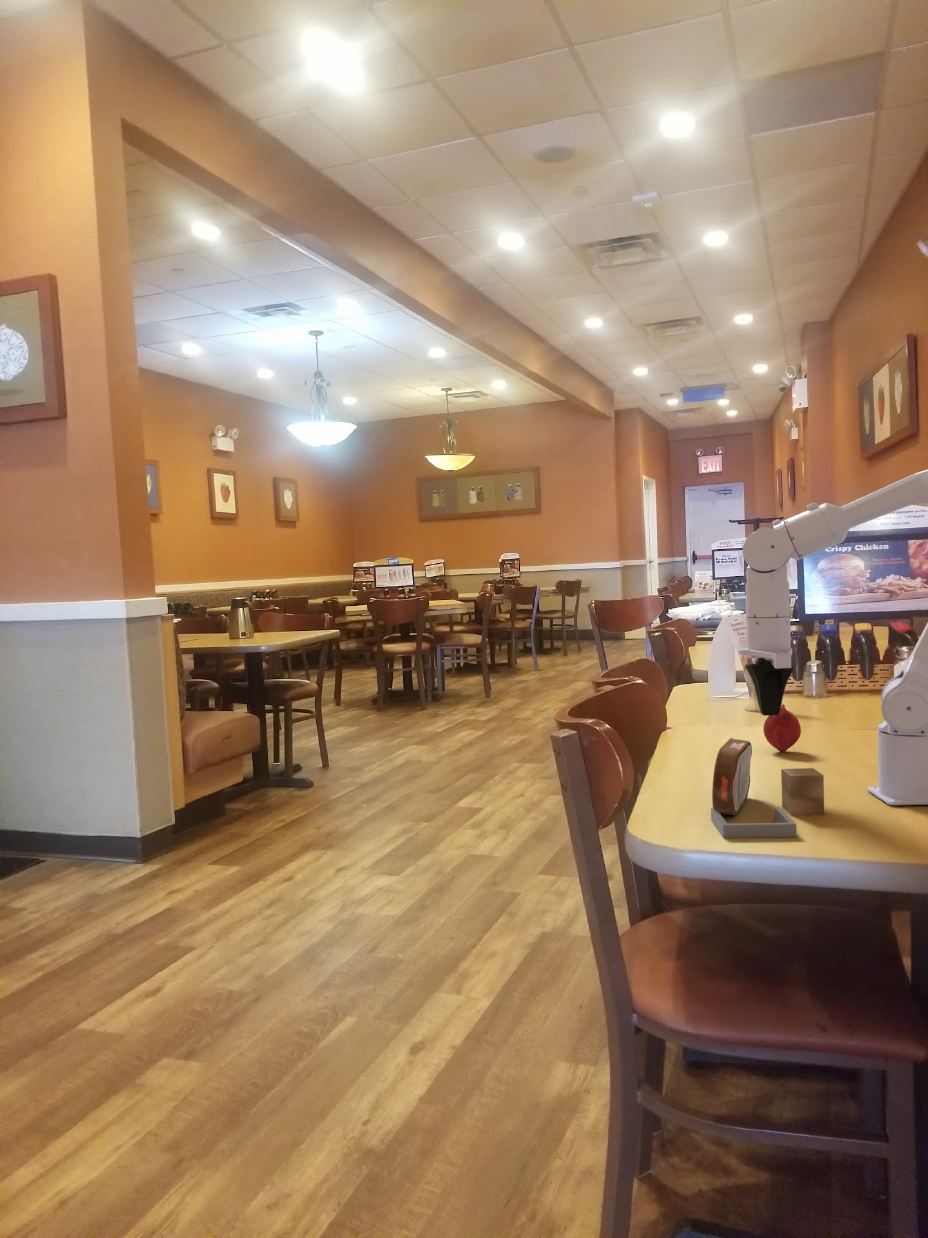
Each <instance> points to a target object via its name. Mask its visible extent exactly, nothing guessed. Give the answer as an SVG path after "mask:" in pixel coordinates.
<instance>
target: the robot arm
mask: <svg viewBox="0 0 928 1238" xmlns="http://www.w3.org/2000/svg"><path fill="white" fill-rule="evenodd" d="M910 506H925V507H928V469H925V470H922V471H919V472H915V473H913V474H911V475H909V476H906V477H904V478H902V479H899V480H897V481H895V482H893V483H891V484H889V485H886V486H884V487H882V488H880V489H878V490H875V491H873V492H871V493H868V494H867V495H864V496H862V497H860V498H858V499H855V500H854V501H851V502H849V503H847V504H844V505H843V506H838V505H834V504H832V503H829V502H825V503H821V504H820V505H818V503H817V502H812V503H810V504H808V505H806V509H807V510H805V511H803V512H801V513H799V514H796V515H793V516H790V517H789V518H786V519H784V520H780V519H779V518H778V519H775V520H773V521H772V522H771V524H772V527H773V528H771V527H759V528H758V529H756V531H753V532H752V533H751V534H750V535H748V536H747V537H746V539H745V540H744V543H743V545H742V556H743V560H744V562H745V563H746V564H747V565H748V566H746V571H745V578H746V583H745V616H746V617H745V620H746V626H745V627H746V648H738V649H737V654H738V655H740V656H744V655H745V656H748V658H750V659H757V661H756V662H755V663H746V664H745V665H744V667H745V668H746V671H747V672H748V675H749V676H750V679H751V681H752V683H753V685H754V687H755V691H756V695H757V699H758V704H759V708H760V711H761V713H760V714H761V715H762V716H765V717H766V716H767V717H768V716H771V715H779V712H780V709H781V704H783V699H784V693H785V689H786V687H787V683H788V681H789V679H790V677H791V676H792V674H793V673H794V672H793V671H794V665H792V655H793V648H792V647H791V645H792V644H791V643H792V642H791V641H792V639H791V602H790V600H791V599H790V598H791V597H790V596H791V595H790V593H791V592H790V582H789V581H788V580H789V579H788V565H787V564H788V563H789V561H790V560H791V559H793V560H796V561H800V560H801V559H802V560H803V559H804V558H807V557H810V556H812V555H815V554H817V553H819V552H822V551H825V550H827V549H829V548H831V547H834V546H837V545H839V544H841V543H844V542H845V540H846V539H847V536H848V533H849V531H850V529H852V528H854V527H855V528H856V526H859V525H862V524H865V523H868V522H871V521H873V520H875V519H878V518H880V517H883V516H886V515H888V514H891V513H894V512H896V511H900V510H901V509H904V508H907V507H910ZM880 694H881V695H880V700H881V706H880V711H881V714H882V715H881V716H882V717H883V719H884V720H883V722H881V723H879V724H877V760H878V762H877V766H878V767H877V769H878V771H877V772H878V773H877V774H878V779H877V780H878V782H877V783H878V786H867V788H866V790H867V791H868V792H870V793H871V794H872V795H874V796H875V797H877V798H878V799H879V800H882V801H883V802H884V803H886V804H887V805H889V806H915V805H916V806H917V805H918V806H919V805H920V806H921V805H922V806H924V805H926V806H927V805H928V622H926V625H925V627H924V629H923V631H922V633H921V635H920V636H919V639H918V641H917V642H916V644H915V646H914V648H913V650H912V651H911V653H910V655H909V656H908V658H907V659H906V661H905V662H904V665H903V666H902V669H901V670H900V671H899V672H898V674H897V675H895V676H894V677H893V678H891V679H889V680H888V681H887V682H886V683H885V684H884V686H883V688H882V691H881V693H880Z"/></svg>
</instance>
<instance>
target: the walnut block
mask: <svg viewBox="0 0 928 1238" xmlns="http://www.w3.org/2000/svg"><path fill="white" fill-rule="evenodd" d="M780 771H781V772H780V773H781V777H780V778H781V807H782V809H784V810H785V811H786V812H787V813H788V814H789V815H790V816H825V787H824V786H825V783H824V782H825V781H824V776H825V775H823V774H822V772H819V771H818V770H817V769H815V768H814V767H812V768H811V767H810V768H809V767H808V768H781V770H780Z"/></svg>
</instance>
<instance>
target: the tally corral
mask: <svg viewBox="0 0 928 1238" xmlns="http://www.w3.org/2000/svg"><path fill="white" fill-rule="evenodd" d="M710 819H711V820H710V821H711V822H712V824H713V825H714V826H715V828H716V829H717V831H718V833H719V834H720V835H721V837H722V838H723V839H737V838H739V839H743V838H744V839H746V838H747V839H749V838H750V839H751V838H797V823H796V822H795V821H794V820H792V817H791V818H790V817H789V815H788V814H787V813H785V811H783V809H782V808H781V807H779V806H773V820H774V821H775V822H754V823H753V822H747V823H745V822H743V823H737V822H736V823H728V822H727V821H726V819H725V818H724V817H723V816H722V814H721V813H719V812H718V810H717V809H716V808H713V807H711V808H710Z"/></svg>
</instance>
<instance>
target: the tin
mask: <svg viewBox="0 0 928 1238" xmlns="http://www.w3.org/2000/svg"><path fill="white" fill-rule="evenodd" d="M752 754H753V749H752V743H751V741H749V740H745V739H737V738H733V737H730V738H729V739H727V741H726V742H725V743H724V744H723V745H721V747H720V748H719V749H718V752H717V755H716V758H715V764H714V769H713V775H712V777H713V778H712V788H711V790H712V793H711V794H712V795H711V796H712V799H711V800H712V802H711V803H712V808H716V809H717V810H718V812H719V813H720V814H721V815H729V816H735V815H738V812H739V811H740V810H741V808H742V807H743V806H744V805H745V803H746V801H747V799H748V795H749V790H750V785H751V759H752Z"/></svg>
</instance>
